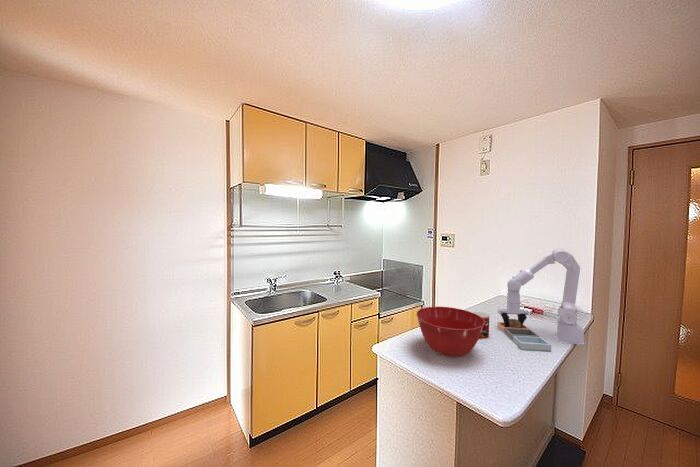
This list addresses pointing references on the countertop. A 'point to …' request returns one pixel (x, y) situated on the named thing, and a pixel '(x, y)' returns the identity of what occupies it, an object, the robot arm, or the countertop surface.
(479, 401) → the countertop surface
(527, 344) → the dish blue
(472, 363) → the countertop surface
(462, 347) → the mixing bowl
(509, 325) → the letter cube
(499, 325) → the dish terracotta
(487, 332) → the canned food
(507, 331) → the dish charcoal
